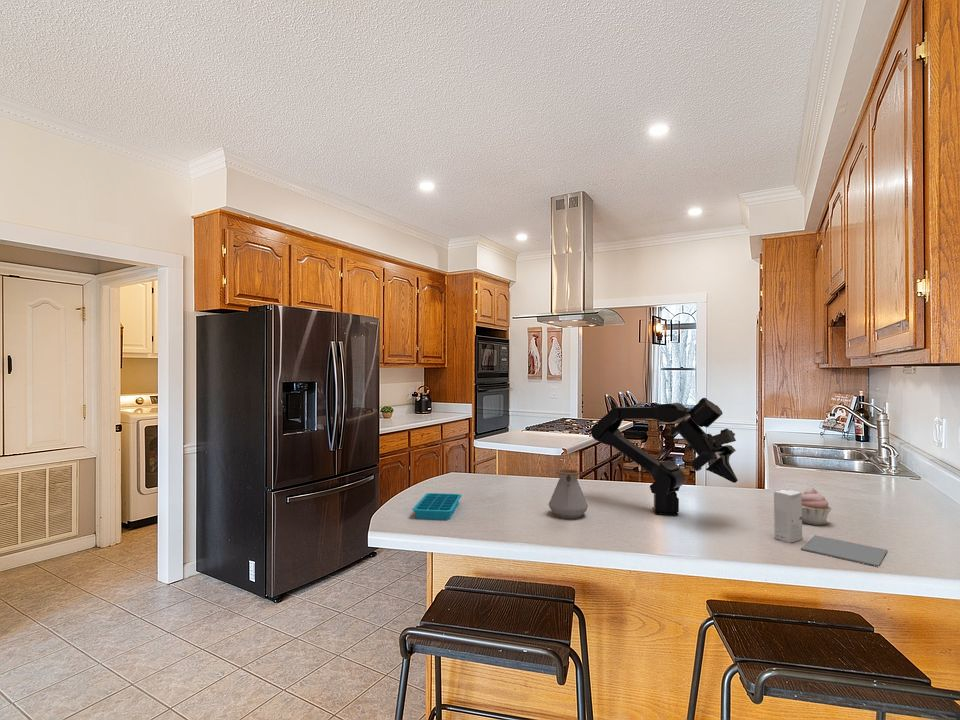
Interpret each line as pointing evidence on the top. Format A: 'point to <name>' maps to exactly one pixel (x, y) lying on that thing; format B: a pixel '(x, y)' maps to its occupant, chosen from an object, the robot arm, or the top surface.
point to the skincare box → (787, 515)
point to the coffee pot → (568, 496)
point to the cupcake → (814, 507)
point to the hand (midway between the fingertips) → (736, 481)
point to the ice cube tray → (437, 506)
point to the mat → (845, 550)
